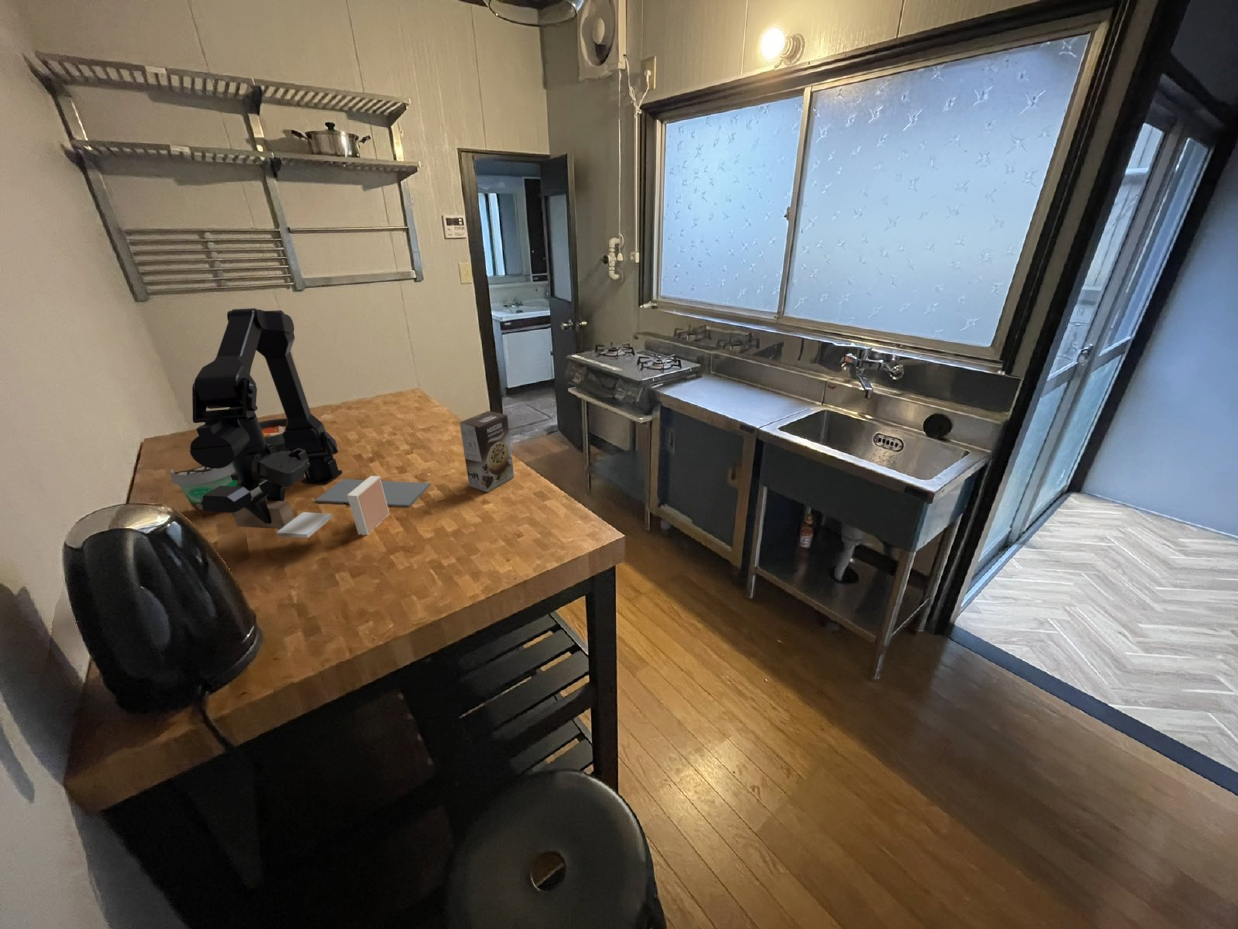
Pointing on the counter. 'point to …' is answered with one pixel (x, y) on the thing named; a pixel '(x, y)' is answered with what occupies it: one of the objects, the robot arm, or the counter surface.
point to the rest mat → (393, 490)
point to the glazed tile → (368, 505)
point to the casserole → (274, 432)
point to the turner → (284, 520)
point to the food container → (202, 483)
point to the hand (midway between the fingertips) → (274, 519)
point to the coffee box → (487, 450)
